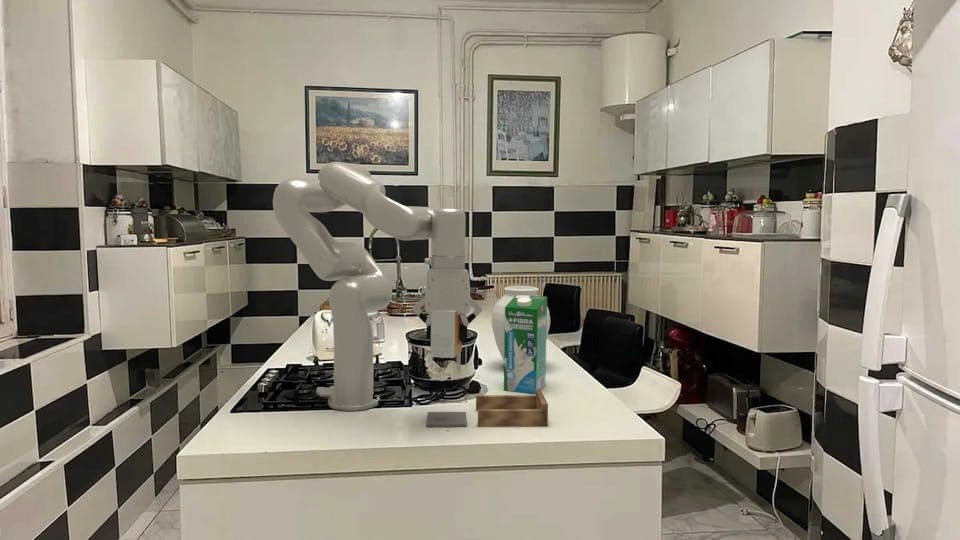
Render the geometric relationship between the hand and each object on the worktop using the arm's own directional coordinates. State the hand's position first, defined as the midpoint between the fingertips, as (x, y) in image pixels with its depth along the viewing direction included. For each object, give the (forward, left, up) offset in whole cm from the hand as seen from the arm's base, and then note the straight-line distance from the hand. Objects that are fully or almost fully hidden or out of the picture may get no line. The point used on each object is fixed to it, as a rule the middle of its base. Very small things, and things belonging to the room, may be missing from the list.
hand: (446, 341), depth 146 cm
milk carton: (+21, +27, -19) cm, 39 cm away
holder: (+15, +2, -18) cm, 24 cm away
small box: (0, 0, -3) cm, 3 cm away
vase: (+22, +49, -18) cm, 57 cm away
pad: (0, 0, -18) cm, 18 cm away
